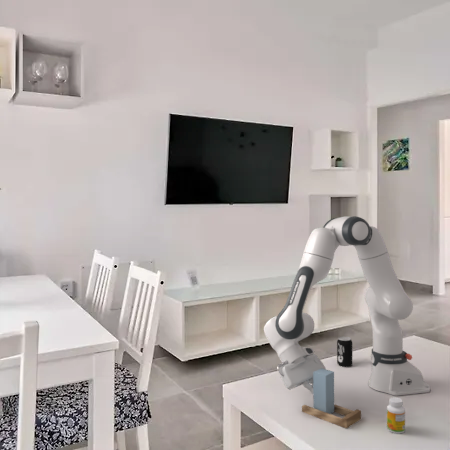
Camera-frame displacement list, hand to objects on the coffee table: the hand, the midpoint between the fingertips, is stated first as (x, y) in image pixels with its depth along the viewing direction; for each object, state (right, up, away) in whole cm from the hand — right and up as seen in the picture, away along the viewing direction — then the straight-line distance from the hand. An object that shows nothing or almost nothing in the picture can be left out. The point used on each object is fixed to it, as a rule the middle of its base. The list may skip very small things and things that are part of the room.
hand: (316, 392), depth 163 cm
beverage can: (+21, -4, +45) cm, 50 cm away
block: (+2, -6, -2) cm, 7 cm away
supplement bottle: (+22, -7, -15) cm, 28 cm away
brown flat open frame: (+4, -6, -4) cm, 8 cm away
